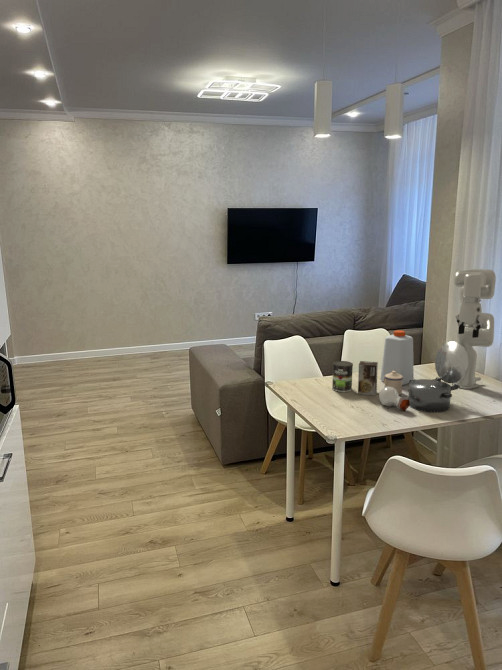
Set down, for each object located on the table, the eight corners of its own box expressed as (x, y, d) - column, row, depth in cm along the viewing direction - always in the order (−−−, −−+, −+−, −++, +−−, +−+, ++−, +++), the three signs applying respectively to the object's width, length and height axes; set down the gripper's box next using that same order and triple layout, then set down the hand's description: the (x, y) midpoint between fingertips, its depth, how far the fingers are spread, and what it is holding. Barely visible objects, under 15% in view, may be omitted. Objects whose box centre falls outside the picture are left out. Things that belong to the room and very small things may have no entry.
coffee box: (376, 392, 272) (378, 362, 268) (375, 396, 266) (377, 365, 262) (359, 390, 275) (360, 360, 271) (357, 394, 269) (358, 363, 265)
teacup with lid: (405, 394, 268) (407, 372, 265) (391, 397, 264) (392, 374, 262) (391, 387, 279) (392, 366, 276) (376, 389, 275) (377, 368, 273)
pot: (429, 394, 268) (430, 374, 266) (466, 409, 246) (468, 388, 244) (395, 400, 260) (397, 379, 258) (431, 417, 238) (433, 394, 235)
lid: (431, 376, 263) (435, 377, 264) (462, 388, 245) (466, 388, 246) (439, 337, 260) (443, 338, 261) (471, 346, 242) (475, 347, 244)
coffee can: (349, 393, 270) (350, 366, 267) (330, 391, 274) (330, 364, 271) (353, 387, 280) (354, 361, 277) (334, 385, 284) (335, 359, 280)
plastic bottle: (391, 375, 300) (394, 327, 294) (416, 380, 290) (419, 331, 284) (377, 381, 290) (379, 331, 284) (402, 387, 279) (405, 335, 273)
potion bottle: (381, 404, 258) (405, 417, 246) (371, 397, 252) (395, 409, 240) (390, 388, 259) (415, 400, 247) (381, 380, 252) (406, 392, 241)
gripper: (491, 301, 244) (488, 338, 248) (463, 296, 260) (460, 331, 263) (479, 303, 241) (476, 340, 245) (451, 297, 257) (448, 332, 261)
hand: (468, 335), depth 254 cm, fingers open, 8 cm apart
